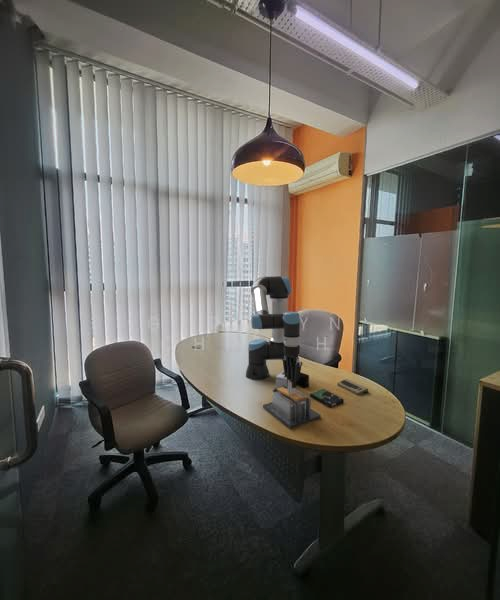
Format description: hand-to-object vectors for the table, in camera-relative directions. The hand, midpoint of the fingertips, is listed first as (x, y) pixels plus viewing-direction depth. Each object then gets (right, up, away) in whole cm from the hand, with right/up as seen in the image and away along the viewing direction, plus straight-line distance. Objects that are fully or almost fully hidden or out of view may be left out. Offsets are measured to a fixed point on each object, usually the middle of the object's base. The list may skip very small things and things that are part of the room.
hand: (291, 393), depth 133 cm
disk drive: (+21, -9, +15) cm, 27 cm away
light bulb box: (0, -8, +24) cm, 25 cm away
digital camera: (+9, -7, +34) cm, 36 cm away
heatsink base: (0, -10, +2) cm, 10 cm away
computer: (+39, -7, +28) cm, 49 cm away
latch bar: (0, -1, +1) cm, 2 cm away
